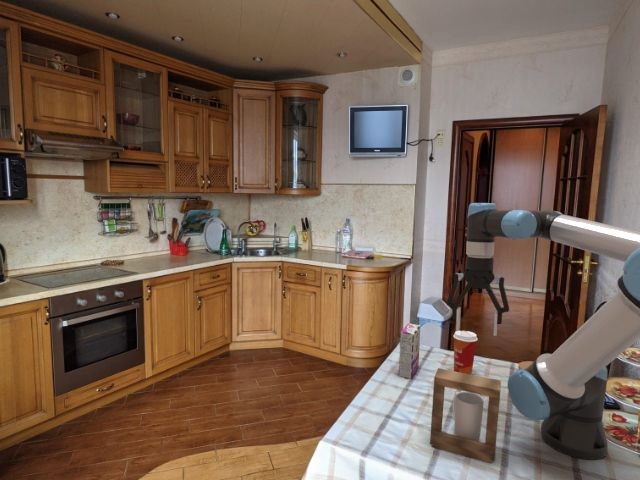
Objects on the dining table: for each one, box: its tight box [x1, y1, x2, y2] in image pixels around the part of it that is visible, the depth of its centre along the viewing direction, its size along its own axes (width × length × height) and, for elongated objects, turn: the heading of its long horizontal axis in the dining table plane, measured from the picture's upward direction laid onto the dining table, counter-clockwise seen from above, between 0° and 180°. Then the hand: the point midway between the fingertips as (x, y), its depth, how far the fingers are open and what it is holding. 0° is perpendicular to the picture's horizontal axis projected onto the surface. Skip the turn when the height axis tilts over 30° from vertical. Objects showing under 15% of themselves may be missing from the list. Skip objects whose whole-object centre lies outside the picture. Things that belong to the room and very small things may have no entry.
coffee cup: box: [452, 330, 479, 375], centre depth 150 cm, size 8×8×15 cm
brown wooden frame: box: [429, 367, 502, 464], centre depth 106 cm, size 15×7×18 cm, turn 65°
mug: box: [452, 391, 485, 442], centre depth 110 cm, size 10×7×12 cm, turn 15°
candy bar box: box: [398, 323, 421, 380], centre depth 150 cm, size 11×5×16 cm, turn 155°
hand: (476, 332), depth 123 cm, fingers open, 10 cm apart
